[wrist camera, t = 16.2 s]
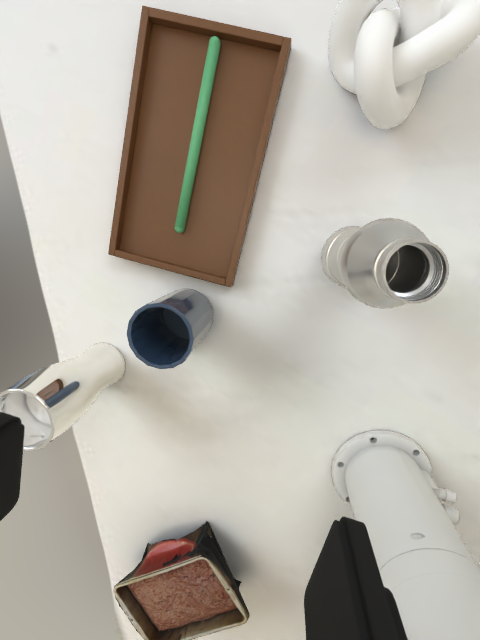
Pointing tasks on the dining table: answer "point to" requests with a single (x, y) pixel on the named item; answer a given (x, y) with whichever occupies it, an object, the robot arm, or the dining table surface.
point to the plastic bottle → (385, 263)
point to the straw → (197, 132)
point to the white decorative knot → (396, 50)
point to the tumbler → (170, 328)
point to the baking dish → (182, 590)
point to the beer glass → (61, 393)
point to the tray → (175, 136)
